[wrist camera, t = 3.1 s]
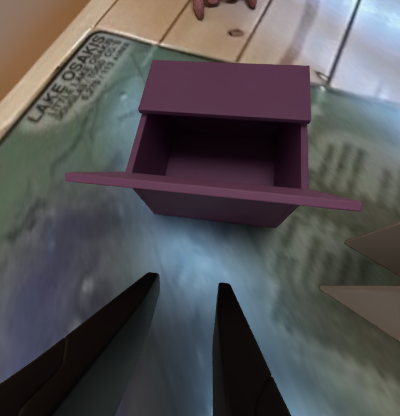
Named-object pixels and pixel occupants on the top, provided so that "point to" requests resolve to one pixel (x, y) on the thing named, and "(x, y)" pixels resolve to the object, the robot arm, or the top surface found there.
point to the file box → (223, 136)
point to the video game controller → (199, 3)
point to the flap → (217, 189)
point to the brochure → (375, 295)
